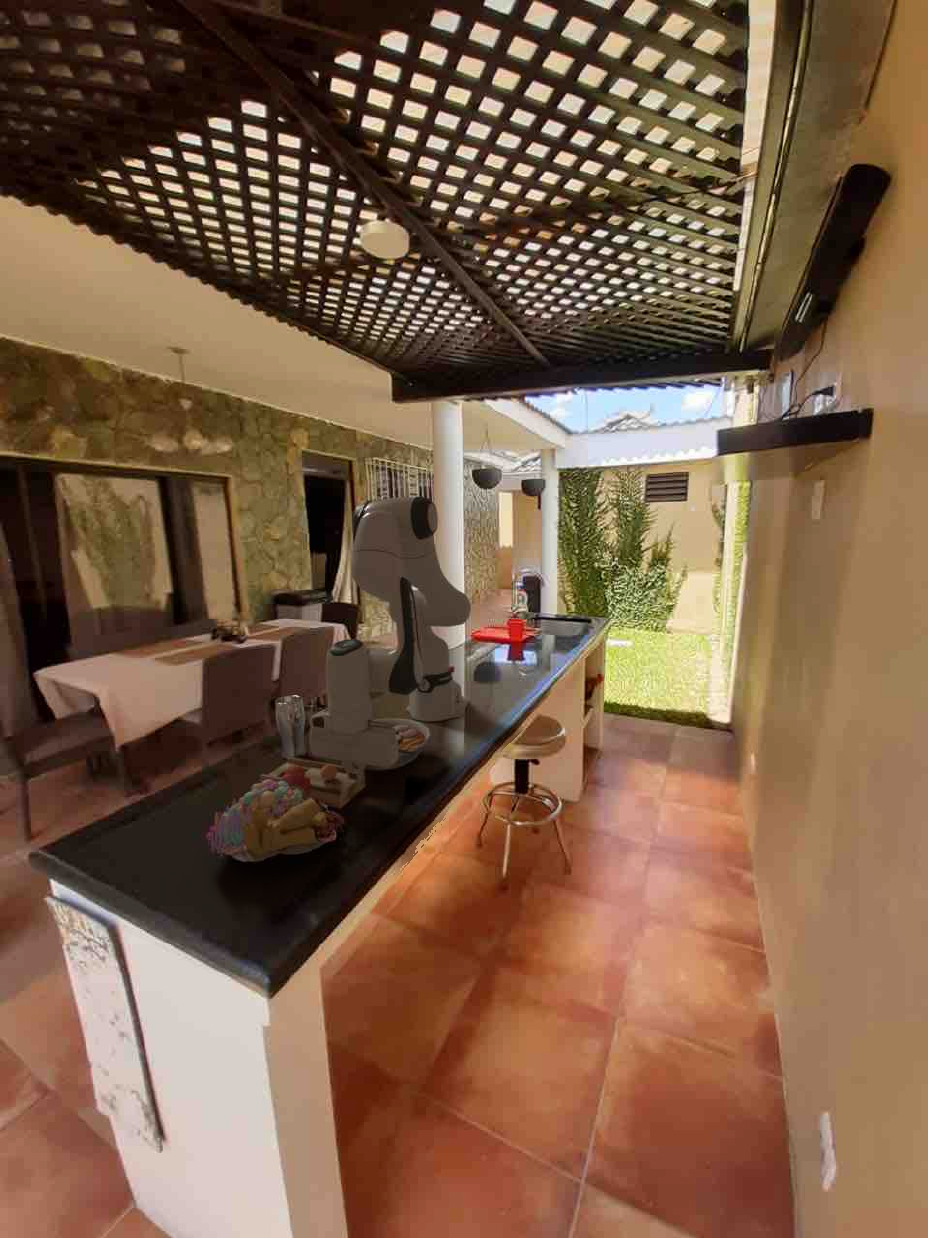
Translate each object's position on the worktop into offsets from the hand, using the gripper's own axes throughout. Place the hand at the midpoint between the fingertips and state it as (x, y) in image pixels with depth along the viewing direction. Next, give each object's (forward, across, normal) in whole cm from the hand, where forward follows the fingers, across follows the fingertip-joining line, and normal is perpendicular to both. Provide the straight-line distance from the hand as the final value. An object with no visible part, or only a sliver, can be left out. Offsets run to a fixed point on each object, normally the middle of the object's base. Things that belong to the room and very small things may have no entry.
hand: (355, 779), depth 104 cm
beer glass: (+5, +28, -13) cm, 31 cm away
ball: (0, +7, 0) cm, 7 cm away
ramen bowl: (+5, +2, -16) cm, 17 cm away
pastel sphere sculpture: (+2, +6, +17) cm, 19 cm away
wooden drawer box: (+4, +12, 0) cm, 12 cm away
